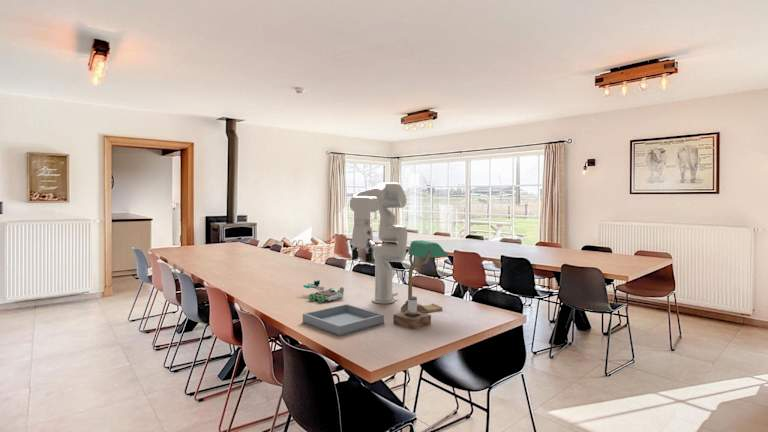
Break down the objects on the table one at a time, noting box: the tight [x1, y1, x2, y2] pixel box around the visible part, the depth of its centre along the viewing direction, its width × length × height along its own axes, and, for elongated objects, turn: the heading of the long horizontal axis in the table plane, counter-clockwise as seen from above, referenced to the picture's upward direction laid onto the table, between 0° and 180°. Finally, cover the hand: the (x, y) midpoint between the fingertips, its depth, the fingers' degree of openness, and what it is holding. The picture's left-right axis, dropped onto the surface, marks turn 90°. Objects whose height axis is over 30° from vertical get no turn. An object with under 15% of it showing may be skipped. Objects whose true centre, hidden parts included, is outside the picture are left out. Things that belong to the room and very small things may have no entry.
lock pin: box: [407, 295, 418, 317], centre depth 192 cm, size 4×4×12 cm
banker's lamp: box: [400, 240, 449, 314], centre depth 215 cm, size 16×21×35 cm
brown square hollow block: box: [392, 311, 432, 330], centre depth 193 cm, size 12×12×4 cm
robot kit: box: [303, 279, 345, 304], centre depth 240 cm, size 19×25×9 cm
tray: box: [302, 303, 385, 337], centre depth 192 cm, size 26×26×4 cm
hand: (361, 260), depth 196 cm, fingers open, 9 cm apart
